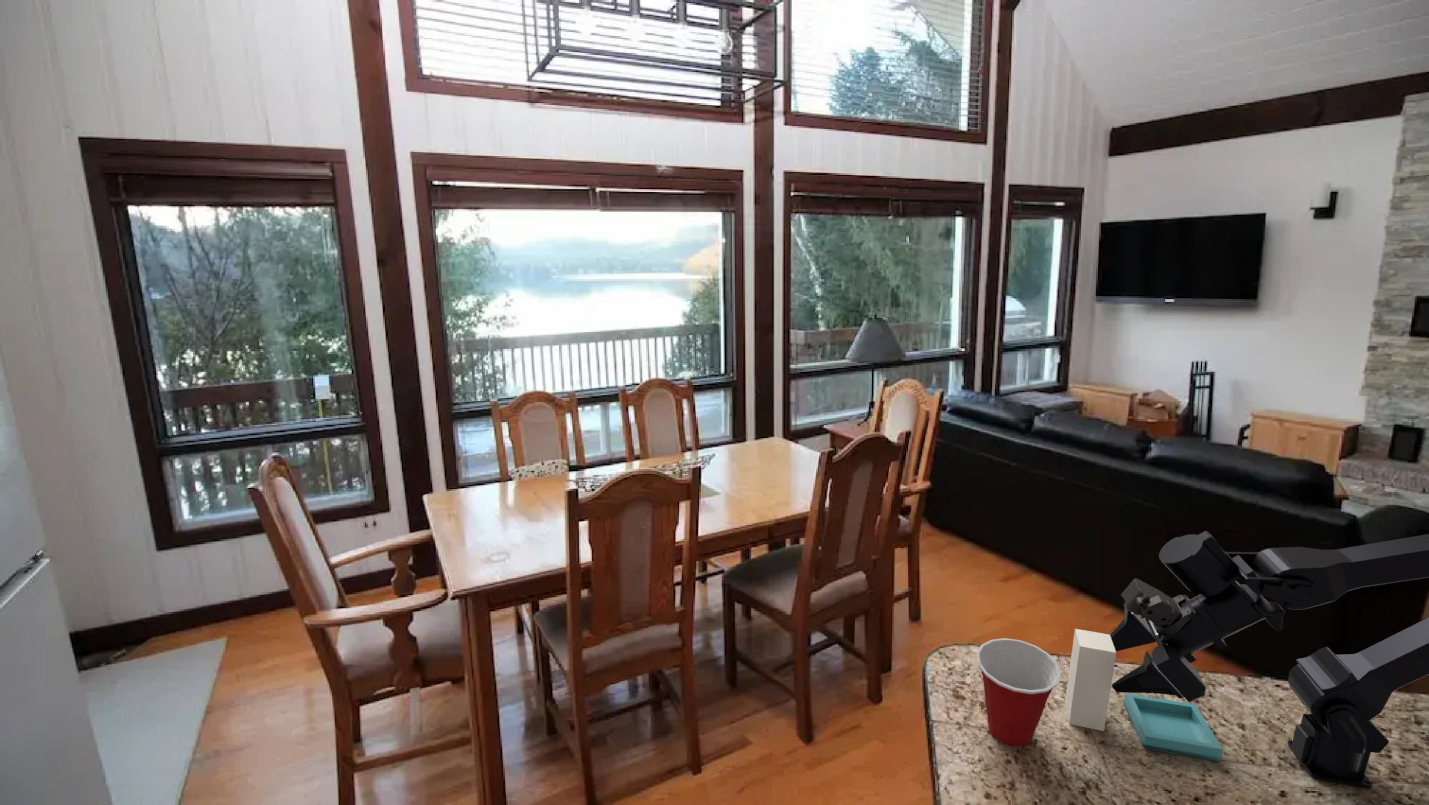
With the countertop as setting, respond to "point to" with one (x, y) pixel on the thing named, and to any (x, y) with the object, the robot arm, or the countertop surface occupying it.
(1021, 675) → the plastic cup
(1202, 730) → the teal dish
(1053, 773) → the countertop surface
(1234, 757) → the countertop surface
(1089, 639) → the cream block
